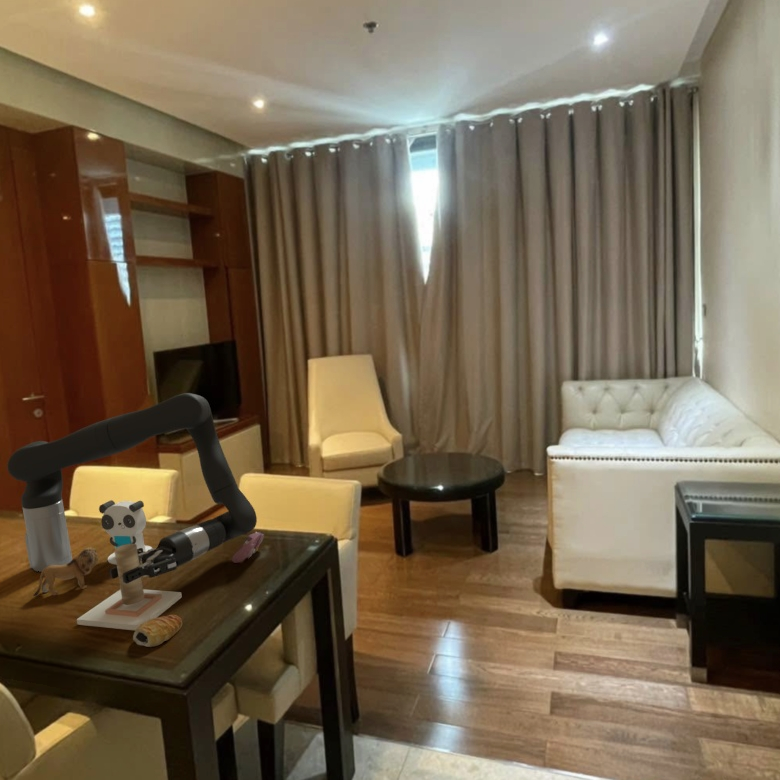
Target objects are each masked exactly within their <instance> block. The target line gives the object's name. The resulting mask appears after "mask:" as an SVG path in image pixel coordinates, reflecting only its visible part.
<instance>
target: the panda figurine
mask: <svg viewBox="0 0 780 780" xmlns="http://www.w3.org/2000/svg"><path fill="white" fill-rule="evenodd" d="M144 506H145V504H144V501H142V500H137V501H136V502H135V501H130V500H122V501H119V502H117V503H115V501H114V500H112V499H111V500H108V501H107V502H105V503H103V504H101V505H99V507H98V510H99V511H98V512H99V513H100V514H103V515H102V516H101V521H100V522H101V526H102V528H103V530H105V532H106V534H108V535H109V536H110V538H109V542H110V544H111V545H112V546H114V547H113V548H114V550H115V549H116V548H117V547H119V546H122V545H125V544H136V546H137V549H139V548H143V551H144V552H146V551H148V550H149V549H152V548H153V547H152V546H150V545H145V541H144V534H143V531H144V530H145V528H146V526H147V525H146V524H147V516H146V514H145V511H144V509H143V508H144ZM107 562H108V563H109V564H111V565H117V564H116V557H115V551H114V552H113V553H111V554H110V555H109V556H107Z"/></svg>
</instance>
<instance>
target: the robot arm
mask: <svg viewBox="0 0 780 780" xmlns="http://www.w3.org/2000/svg"><path fill="white" fill-rule="evenodd" d="M178 430H187V432H188V434H189V435H190V437H191V439H192V441H193V442H194V445H195V448H196V450H197V453H198V458H199V464H200V469H201V472H202V476H203V479H204V482H205V484H206V487H207V489H208V493H209V494H210V496H211V498H212V501H213V502H214V503H215V504H217V505H223V506H224V507H225V508H226V509H227V511H225V512H224V513H221V514H220V515H218V516H216V517H214V518H212V519H207V520H204V521H203V522H200V523H198V524H195V525H193V526H189V527H186V528H183V529H181V530H179V531H176V532H174V533H172V534H169V535H167V536H164V537H163V538H161V539H160V541H159V543H158V545H157V547H154V548H153V547H152V549H149V550H148V551H146V552H144V551H143V548H139V549H137V552H138V559H139V565H140V567H136V568H134V569H132V570H129V571H127V572H125V573H123V575H122V577H123V582H124V583H129V582H131V581H133V580H136V579H138V578H140V577H141V578H146V577H149V578H151V579H152V578H155V577H158V576H162V575H164V574H167V573H170V572H172V571H176V570H177V569H178V567H181V566H184V565H185V564H188V563H189V562H191V561H193V560H195V559H197V558H199V557H201V556H202V555H204V554H206V553H208V552H210V551H212V550H214V549H215V548H217V547H219V546H221V545H222V544H224V543H225V542H229V541H230V540H233V539H235V538H237V537H241V536H242V535H245V534H247V533H249V532H251V531H253V530H254V529H255V528H256V526H257V522H258V521H257V519H258V517H257V513H256V511H255V508H254V507H253V505H252V503H251V502H250V501H249V499H248V498H247V497H246V496H245V494H244V493H243V492H242V491H241V490H240V488H239V486H238V483H237V481H236V478H235V477H234V474H233V472H232V469H231V467H230V465H229V463H228V460H227V458H226V456H225V454H224V450H223V448H222V445H221V442H220V440H219V437H218V433H217V430H216V426H215V422H214V419H213V414H212V409H211V407H210V404H209V402H208V400H207V399H206V398H205V397H204V396H201V395H199V394H196V393H191V392H185V393H179V394H177V395H174V396H172V397H170V398H168V399H166V400H164V401H161V402H158V403H157V404H154V405H152V406H150V407H149V406H148V407H147V408H144V409H141V410H140V409H139V410H135V411H131V412H127V413H123V414H120V415H119V414H118V415H117V416H113V417H110V418H107V419H104V420H100V421H98V422H95V423H92V424H89V425H87V426H86V427H83V428H80V429H79V430H76V431H74V432H72V433H70V434H68V435H66V436H64V437H62V438H58V439H56V440H53V441H51V442H50V441H49V442H48V441H44V440H37V441H34V442H31V443H29V444H26V445H24V446H22V447H19V448H18V449H16V450H15V451H14V452H13V453H12V454H11V456H9V458H8V461H7V471H8V474H9V475H10V476H11V477H12V478H14V479H15V480H17V481H20V482H25V483H26V485H25V489H24V491H23V493H22V495H21V497H20V499H21V500H20V501H21V502H20V503H21V508H22V512H23V518H24V523H25V529H26V532H25V533H24V539H25V546H26V552H27V556H28V562H29V563H28V564H29V568H30V569H33V571H34V572H38V571H39V572H41V573H42V571H43V570H44V569H45V568H46V567H48V566H51V565H65V564H68V563H70V562H71V561H72V560H73V556H72V554H73V553H72V549H71V541H70V537H69V536H70V535H69V531H68V524H67V519H66V514H65V508H64V507H65V506H64V501H63V495H62V493H63V489H64V482H63V481H64V480H63V472H62V471H63V470H62V469H66V468H68V467H72V466H74V465H79V464H83V463H89V462H91V461H95V460H99V459H102V458H106V457H109V456H113V455H116V454H119V453H122V452H124V451H129V450H130V449H132V448H135V447H136V446H138V445H140V444H142V443H144V442H145V441H147V440H148V439H150V438H153V437H155V436H157V435H161V434H166V433H169V432H174V431H178ZM39 572H38V573H39ZM108 572H109V577H110V579H113V580H114V579H117V578H119V576H118V570H117V565H115V566H113V567H111V568H110V569H109V571H108Z"/></svg>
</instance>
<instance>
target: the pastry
mask: <svg viewBox="0 0 780 780" xmlns="http://www.w3.org/2000/svg"><path fill="white" fill-rule="evenodd" d="M182 627H183V620H182V618H181V617H180V616H178V615H177V614H167V615H166V616H164V615H162V616H158V617H157V618H155V619H150V620H148V621H147V622H146V623H142V624H141V625H140V626H139V628H136V630H134V632H133V636H132V640H133V642H135V643H136V645H138V646H142V647H143V646H144V647H148V648H152V647H157V646H159V645H162V644H163V643H164V642H165V641H167V642H168V640H170V639H171V638H172V637H174V636H175V635H176V634H177V633H178V632H179V631H180V630H181V628H182Z"/></svg>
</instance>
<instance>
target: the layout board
mask: <svg viewBox="0 0 780 780" xmlns="http://www.w3.org/2000/svg"><path fill="white" fill-rule="evenodd" d="M143 591H144V599H143V600H142V601H140V602H138V603H135V604H131V605H125V604H123V601H122V595H121V589H120V588H119V590H117V591H116V592H114V593H112V595H111V594H110V596H109V597H107V598H105V599H104V600H102V601H101V602H100V603H98V604H97V605H95V606H94V607H92V608H91V609H90V610H88V611H87V612H85V613H84V614H82V615H81V616H79V617H78V618H76V624H77V626H78V625H80V626H88V627H96V628H99V627H100V628H108V629H116V630H118V629H119V630H128V631H136V628H139V626H140V625H141V624H142V623H146V622H147V621H148V620H150V619H155V618H158V617H160V616H161V615H162V614H163V613H164V612H166V611H167V610H168V609H169V608H171V607H172V606H173V605H174V604H176V603H177V602H178V601H179V600H180V599H181V598H182V597H183V596H182V592H180V591H170V590H155V589H144V588H143Z"/></svg>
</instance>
